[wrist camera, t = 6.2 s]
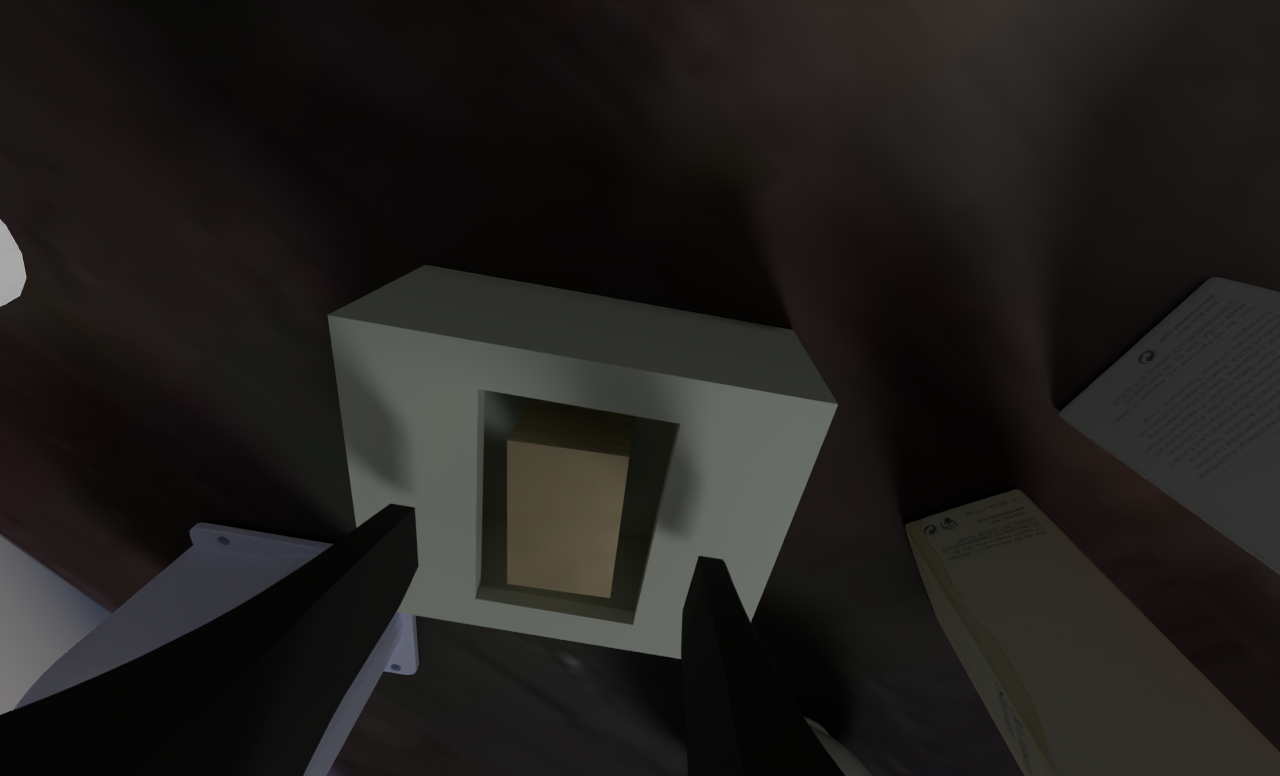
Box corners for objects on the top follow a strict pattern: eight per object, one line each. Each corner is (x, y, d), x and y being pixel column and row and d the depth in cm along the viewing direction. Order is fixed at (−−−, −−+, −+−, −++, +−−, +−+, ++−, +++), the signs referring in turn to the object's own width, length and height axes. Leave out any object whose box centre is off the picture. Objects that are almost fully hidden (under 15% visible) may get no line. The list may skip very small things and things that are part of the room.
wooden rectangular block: (547, 477, 19) (507, 583, 14) (552, 357, 16) (507, 439, 12) (625, 488, 19) (609, 598, 14) (641, 370, 16) (629, 457, 12)
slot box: (434, 504, 20) (367, 607, 16) (425, 264, 16) (327, 314, 11) (720, 552, 21) (732, 667, 16) (792, 329, 16) (837, 404, 12)
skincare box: (899, 519, 19) (1184, 1011, 8) (1023, 481, 18) (1537, 993, 7) (936, 621, 22) (1196, 1104, 11) (1048, 593, 20) (1464, 1103, 10)
